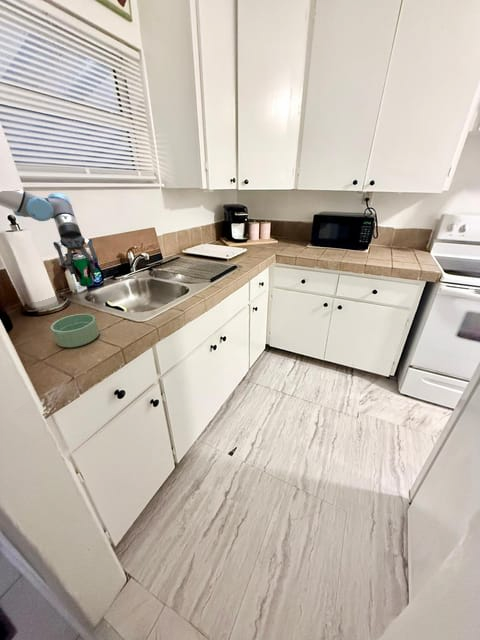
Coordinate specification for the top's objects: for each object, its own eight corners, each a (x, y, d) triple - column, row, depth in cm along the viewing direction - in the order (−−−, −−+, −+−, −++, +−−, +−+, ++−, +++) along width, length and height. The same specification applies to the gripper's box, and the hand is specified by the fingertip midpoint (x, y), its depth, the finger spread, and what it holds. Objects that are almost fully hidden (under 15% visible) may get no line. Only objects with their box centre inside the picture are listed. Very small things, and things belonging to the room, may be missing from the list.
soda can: (89, 287, 103) (81, 256, 97) (77, 286, 103) (67, 256, 97) (96, 282, 107) (88, 253, 102) (84, 282, 107) (75, 253, 102)
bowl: (47, 347, 80) (40, 330, 78) (74, 328, 91) (69, 312, 88) (84, 350, 79) (78, 333, 76) (107, 330, 90) (102, 314, 87)
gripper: (39, 224, 97) (56, 278, 93) (92, 221, 106) (111, 270, 102) (43, 237, 103) (60, 288, 99) (94, 233, 113) (111, 279, 108)
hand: (86, 279), depth 101 cm, fingers closed on soda can, 5 cm apart
